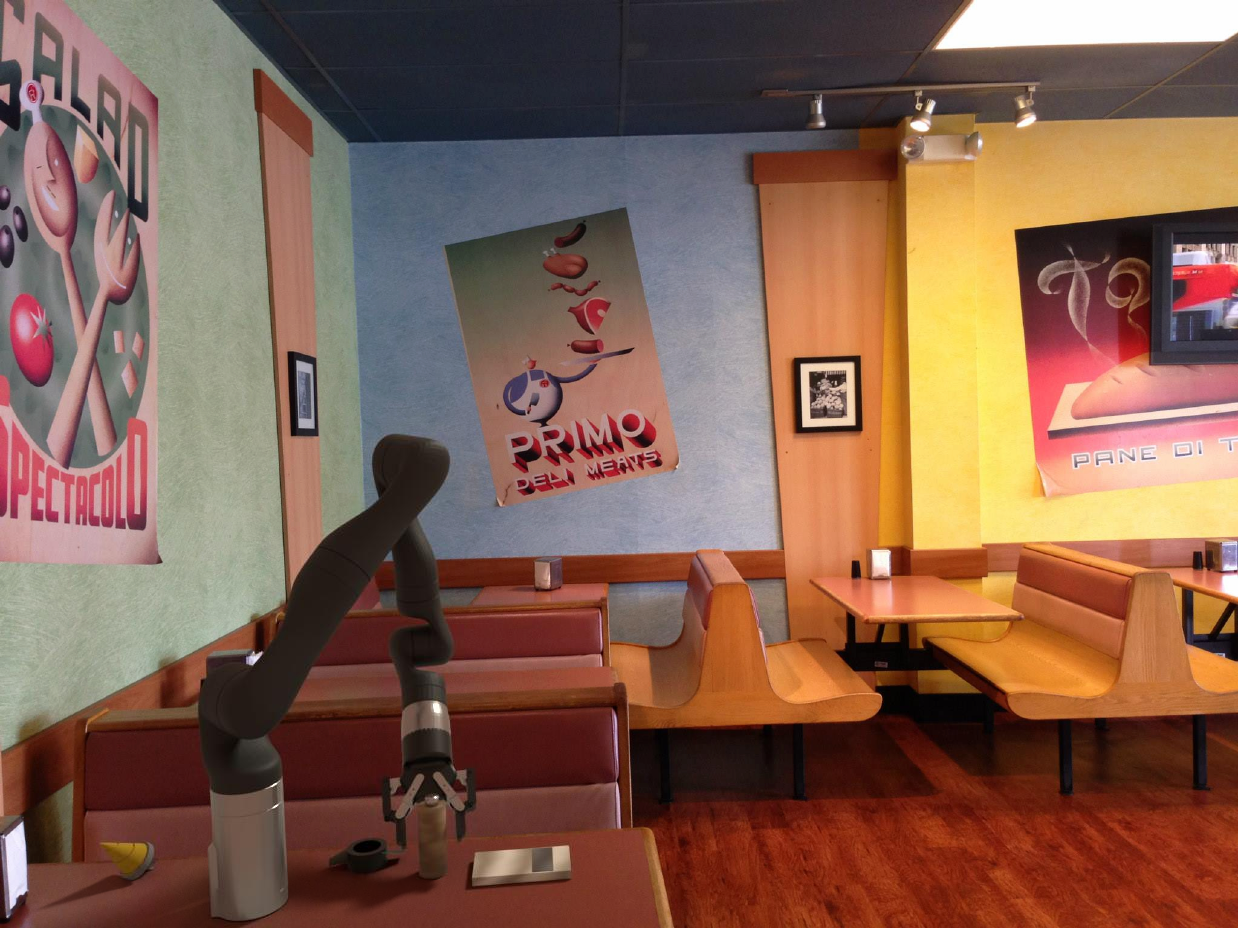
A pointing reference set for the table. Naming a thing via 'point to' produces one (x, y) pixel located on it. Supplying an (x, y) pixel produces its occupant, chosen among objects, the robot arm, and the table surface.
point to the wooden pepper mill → (432, 837)
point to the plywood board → (521, 865)
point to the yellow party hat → (131, 857)
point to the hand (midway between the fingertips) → (432, 843)
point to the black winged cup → (364, 855)
